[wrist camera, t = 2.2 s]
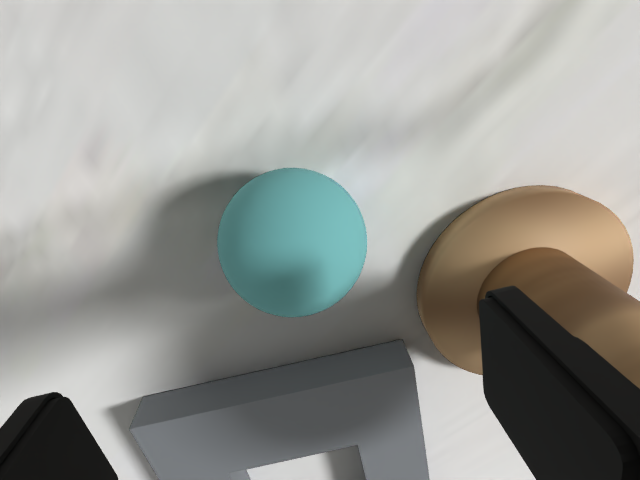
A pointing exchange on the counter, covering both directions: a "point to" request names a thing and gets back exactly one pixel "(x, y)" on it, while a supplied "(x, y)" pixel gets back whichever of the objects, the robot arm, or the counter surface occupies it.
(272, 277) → the teal ball
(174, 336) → the counter surface
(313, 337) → the counter surface
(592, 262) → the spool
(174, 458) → the square hole board
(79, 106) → the counter surface
